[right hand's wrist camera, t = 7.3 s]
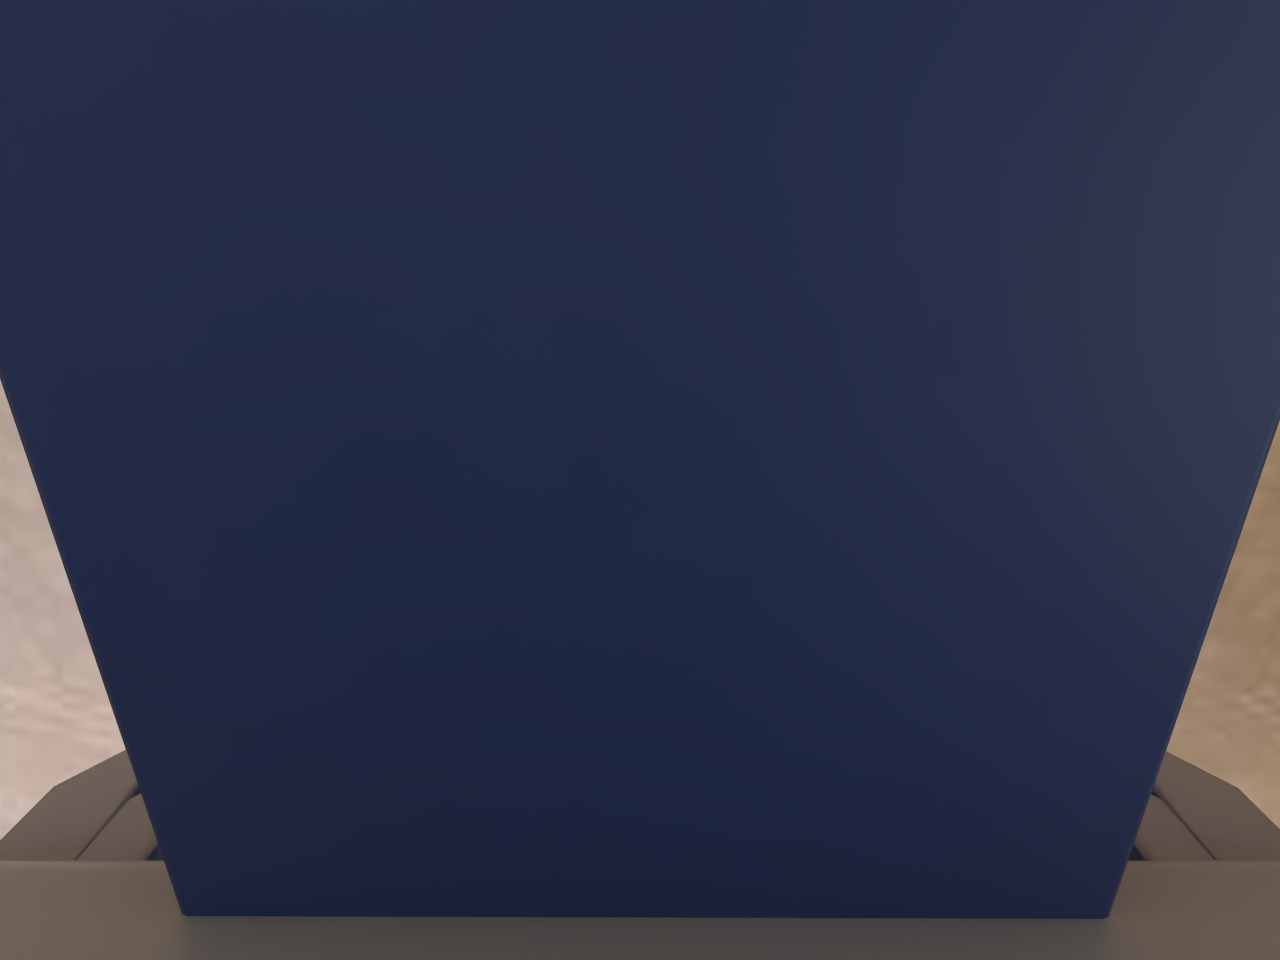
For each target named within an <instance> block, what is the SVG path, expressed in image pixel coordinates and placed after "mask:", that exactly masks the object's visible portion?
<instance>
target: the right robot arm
mask: <svg viewBox="0 0 1280 960" xmlns="http://www.w3.org/2000/svg"><path fill="white" fill-rule="evenodd" d="M0 960H1280V829H1279V828H1278V827H1277V826H1276V825H1275V824H1274V823H1273V822H1272V821H1271V820H1270V819H1269V818H1268V817H1267V816H1266V815H1265V814H1264V813H1263V812H1262V811H1261V810H1260V809H1259V808H1258V807H1257V806H1255V805H1254V804H1253V803H1252V802H1251V801H1250V800H1249V799H1248V798H1247V797H1246V796H1245V795H1244V794H1243V793H1242V792H1241V791H1240V790H1239V789H1238V788H1237V787H1235V786H1233V785H1231V784H1229V783H1227V782H1225V781H1223V780H1221V779H1219V778H1217V777H1215V776H1213V775H1211V774H1209V773H1207V772H1205V771H1204V770H1202V769H1200V768H1198V767H1196V766H1194V765H1192V764H1190V763H1188V762H1186V761H1184V760H1182V759H1180V758H1178V757H1176V756H1174V755H1172V754H1170V753H1168V752H1165V755H1164V758H1163V760H1162V763H1161V766H1160V769H1159V772H1158V775H1157V778H1156V781H1155V784H1154V787H1153V790H1152V792H1151V795H1150V798H1149V801H1148V804H1147V807H1146V810H1145V813H1144V816H1143V819H1142V822H1141V824H1140V827H1139V830H1138V833H1137V836H1136V839H1135V842H1134V845H1133V848H1132V851H1131V854H1130V856H1129V859H1128V862H1127V865H1126V868H1125V871H1124V874H1123V877H1122V880H1121V883H1120V886H1119V888H1118V891H1117V894H1116V897H1115V900H1114V903H1113V906H1112V909H1111V912H1110V915H1109V917H1107V918H1104V919H977V918H643V917H310V916H186V915H183V914H182V913H181V910H180V907H179V904H178V901H177V898H176V895H175V892H174V889H173V886H172V884H171V881H170V878H169V875H168V872H167V869H166V866H165V863H164V860H163V857H162V854H161V851H160V848H159V845H158V842H157V839H156V836H155V833H154V830H153V827H152V825H151V822H150V819H149V816H148V813H147V810H146V807H145V804H144V801H143V798H142V795H141V792H140V789H139V786H138V783H137V780H136V777H135V774H134V771H133V768H132V766H131V763H130V760H129V757H128V754H127V751H126V750H125V751H123V752H121V753H119V754H117V755H115V756H113V757H111V758H109V759H107V760H105V761H103V762H101V763H99V764H97V765H95V766H93V767H91V768H89V769H88V770H86V771H84V772H82V773H80V774H78V775H76V776H74V777H72V778H70V779H68V780H66V781H64V782H62V783H60V784H58V785H56V786H54V787H53V788H52V789H51V790H50V791H49V792H48V793H47V794H46V795H45V796H44V797H43V798H42V799H41V800H40V801H39V802H38V803H37V804H36V805H35V806H34V807H33V808H32V809H31V810H30V811H29V812H28V813H27V814H26V815H25V816H24V817H23V818H22V819H21V820H20V821H19V822H18V823H17V824H16V825H15V826H14V827H13V828H12V829H11V830H10V831H9V832H8V833H7V834H6V835H5V836H4V837H3V838H2V839H1V840H0Z"/></svg>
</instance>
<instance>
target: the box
mask: <svg viewBox="0 0 1280 960" xmlns="http://www.w3.org/2000/svg"><path fill="white" fill-rule="evenodd" d="M0 379H1V382H2V385H3V388H4V391H5V394H6V397H7V400H8V403H9V406H10V409H11V412H12V414H13V417H14V420H15V423H16V426H17V429H18V432H19V435H20V438H21V441H22V444H23V447H24V450H25V453H26V456H27V459H28V462H29V465H30V468H31V471H32V473H33V476H34V479H35V482H36V485H37V488H38V491H39V494H40V497H41V500H42V503H43V506H44V509H45V512H46V515H47V518H48V521H49V524H50V527H51V530H52V532H53V535H54V538H55V541H56V544H57V547H58V550H59V553H60V556H61V559H62V562H63V565H64V568H65V571H66V574H67V577H68V580H69V583H70V586H71V589H72V591H73V594H74V597H75V600H76V603H77V606H78V609H79V612H80V615H81V618H82V621H83V624H84V627H85V630H86V633H87V636H88V639H89V642H90V645H91V648H92V650H93V653H94V656H95V659H96V662H97V665H98V668H99V671H100V674H101V677H102V680H103V683H104V686H105V689H106V692H107V695H108V698H109V701H110V704H111V707H112V709H113V712H114V715H115V718H116V721H117V724H118V727H119V730H120V733H121V736H122V739H123V742H124V745H125V748H126V751H127V754H128V757H129V760H130V763H131V766H132V768H133V771H134V774H135V777H136V780H137V783H138V786H139V789H140V792H141V795H142V798H143V801H144V804H145V807H146V810H147V813H148V816H149V819H150V822H151V825H152V827H153V830H154V833H155V836H156V839H157V842H158V845H159V848H160V851H161V854H162V857H163V860H164V863H165V866H166V869H167V872H168V875H169V878H170V881H171V884H172V886H173V889H174V892H175V895H176V898H177V901H178V904H179V907H180V910H181V913H182V914H183V915H186V916H310V917H643V918H977V919H1104V918H1107V917H1109V915H1110V912H1111V909H1112V906H1113V903H1114V900H1115V897H1116V894H1117V891H1118V888H1119V886H1120V883H1121V880H1122V877H1123V874H1124V871H1125V868H1126V865H1127V862H1128V859H1129V856H1130V854H1131V851H1132V848H1133V845H1134V842H1135V839H1136V836H1137V833H1138V830H1139V827H1140V824H1141V822H1142V819H1143V816H1144V813H1145V810H1146V807H1147V804H1148V801H1149V798H1150V795H1151V792H1152V790H1153V787H1154V784H1155V781H1156V778H1157V775H1158V772H1159V769H1160V766H1161V763H1162V760H1163V758H1164V755H1165V752H1166V749H1167V746H1168V743H1169V740H1170V737H1171V734H1172V731H1173V728H1174V726H1175V723H1176V720H1177V717H1178V714H1179V711H1180V708H1181V705H1182V702H1183V699H1184V696H1185V694H1186V691H1187V688H1188V685H1189V682H1190V679H1191V676H1192V673H1193V670H1194V667H1195V664H1196V662H1197V659H1198V656H1199V653H1200V650H1201V647H1202V644H1203V641H1204V638H1205V635H1206V632H1207V630H1208V627H1209V624H1210V621H1211V618H1212V615H1213V612H1214V609H1215V606H1216V603H1217V600H1218V598H1219V595H1220V592H1221V589H1222V586H1223V583H1224V580H1225V577H1226V574H1227V571H1228V568H1229V566H1230V563H1231V560H1232V557H1233V554H1234V551H1235V548H1236V545H1237V542H1238V539H1239V537H1240V534H1241V531H1242V528H1243V525H1244V522H1245V519H1246V516H1247V513H1248V510H1249V507H1250V505H1251V502H1252V499H1253V496H1254V493H1255V490H1256V487H1257V484H1258V481H1259V478H1260V475H1261V473H1262V470H1263V467H1264V464H1265V461H1266V458H1267V455H1268V452H1269V449H1270V446H1271V443H1272V441H1273V438H1274V435H1275V432H1276V429H1277V426H1278V423H1279V420H1280V0H0Z"/></svg>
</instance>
